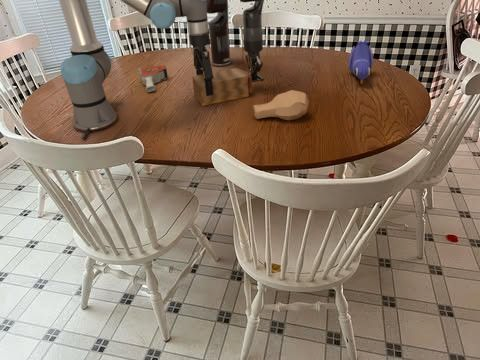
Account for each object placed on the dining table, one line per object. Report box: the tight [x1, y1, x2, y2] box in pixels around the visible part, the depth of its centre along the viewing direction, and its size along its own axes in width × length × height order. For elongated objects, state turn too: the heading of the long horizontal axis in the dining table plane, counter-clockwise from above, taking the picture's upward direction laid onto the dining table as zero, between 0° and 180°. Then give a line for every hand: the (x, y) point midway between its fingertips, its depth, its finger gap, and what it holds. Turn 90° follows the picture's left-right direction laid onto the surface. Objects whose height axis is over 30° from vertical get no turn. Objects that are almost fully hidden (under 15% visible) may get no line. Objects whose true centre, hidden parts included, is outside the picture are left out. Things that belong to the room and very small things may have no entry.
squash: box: [252, 89, 310, 121], centre depth 127 cm, size 11×20×9 cm, turn 92°
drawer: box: [240, 69, 265, 94], centre depth 146 cm, size 24×10×6 cm, turn 112°
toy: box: [347, 40, 374, 85], centre depth 151 cm, size 10×17×25 cm
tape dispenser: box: [137, 64, 169, 93], centre depth 162 cm, size 18×5×20 cm
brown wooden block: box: [191, 67, 250, 107], centre depth 145 cm, size 20×11×8 cm, turn 112°
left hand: (205, 90), depth 143 cm, fingers closed on brown wooden block, 11 cm apart
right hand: (254, 80), depth 149 cm, fingers closed
